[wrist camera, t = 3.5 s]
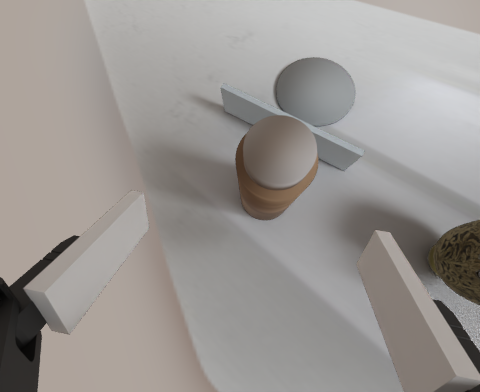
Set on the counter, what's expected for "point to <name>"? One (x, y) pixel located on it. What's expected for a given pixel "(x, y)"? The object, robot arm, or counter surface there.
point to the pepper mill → (275, 165)
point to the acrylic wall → (255, 110)
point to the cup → (459, 260)
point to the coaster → (316, 91)
